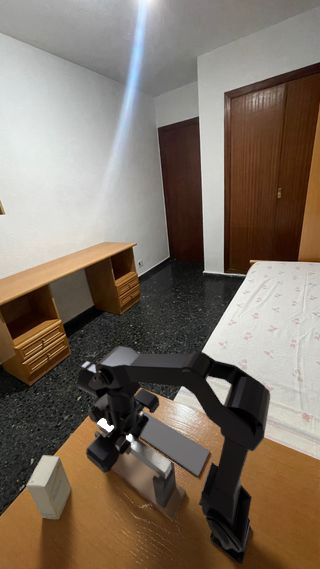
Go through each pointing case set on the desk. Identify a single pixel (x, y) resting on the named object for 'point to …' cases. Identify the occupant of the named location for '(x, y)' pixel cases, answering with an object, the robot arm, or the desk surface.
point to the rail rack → (150, 483)
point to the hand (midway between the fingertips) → (131, 448)
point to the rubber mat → (175, 445)
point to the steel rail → (142, 452)
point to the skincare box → (49, 487)
